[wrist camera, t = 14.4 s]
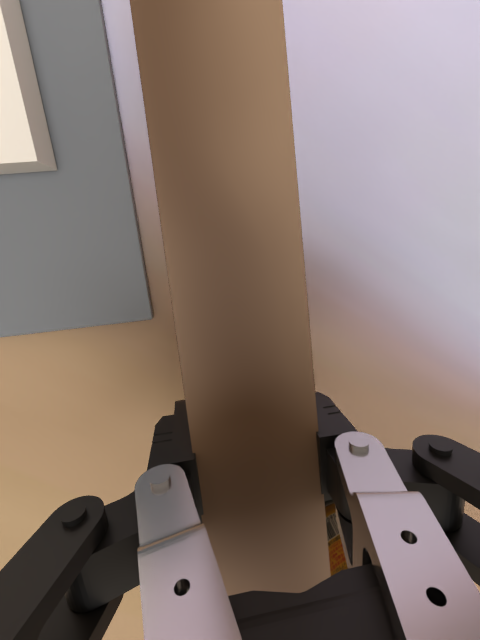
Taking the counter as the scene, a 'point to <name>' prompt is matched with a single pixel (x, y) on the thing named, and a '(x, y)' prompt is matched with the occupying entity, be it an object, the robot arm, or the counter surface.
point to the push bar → (237, 280)
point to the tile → (20, 100)
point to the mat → (72, 189)
